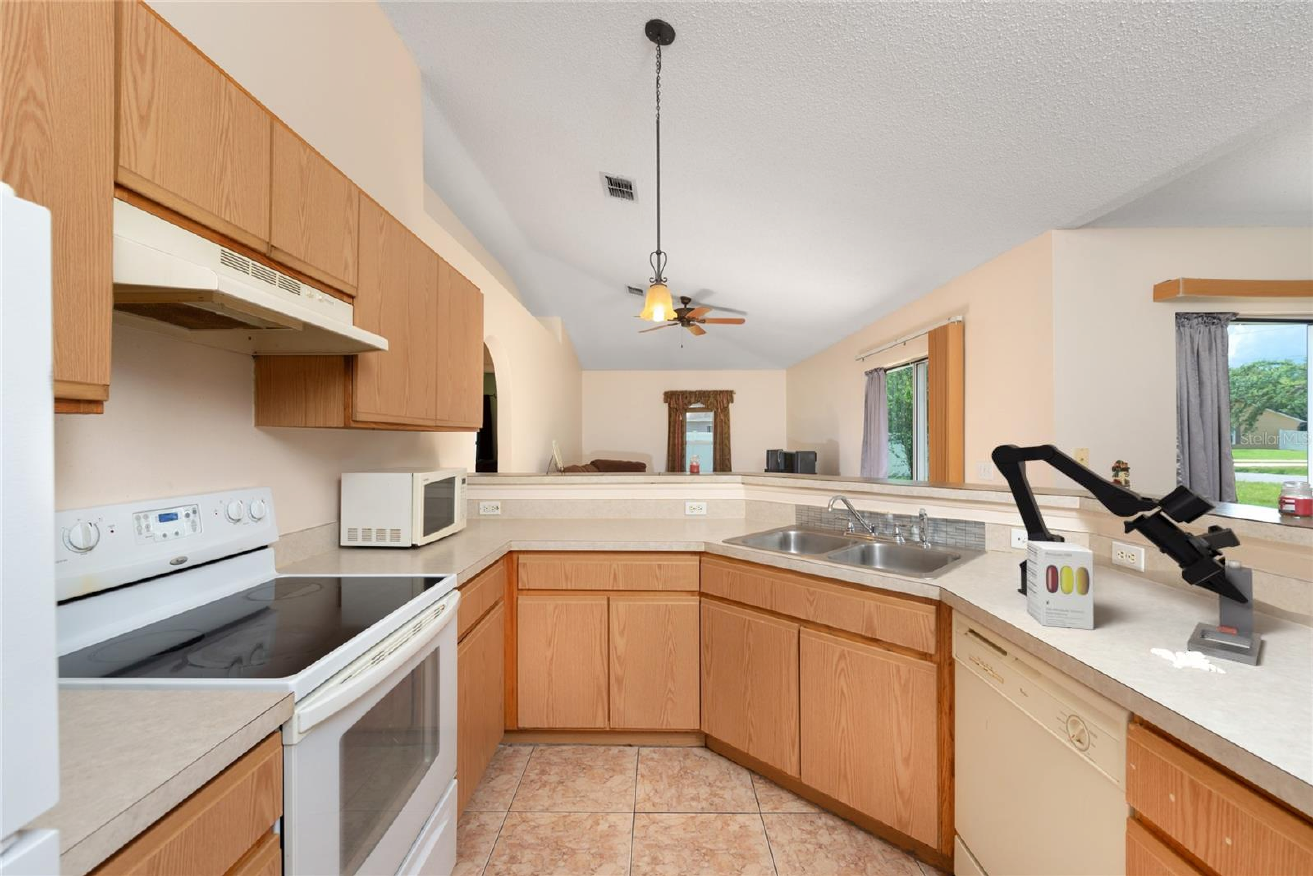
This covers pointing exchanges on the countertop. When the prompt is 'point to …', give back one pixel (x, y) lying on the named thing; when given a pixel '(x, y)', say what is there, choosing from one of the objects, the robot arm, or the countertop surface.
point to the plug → (1231, 609)
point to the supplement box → (1060, 584)
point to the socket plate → (1225, 649)
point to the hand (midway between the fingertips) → (1245, 598)
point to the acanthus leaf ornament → (1188, 660)
